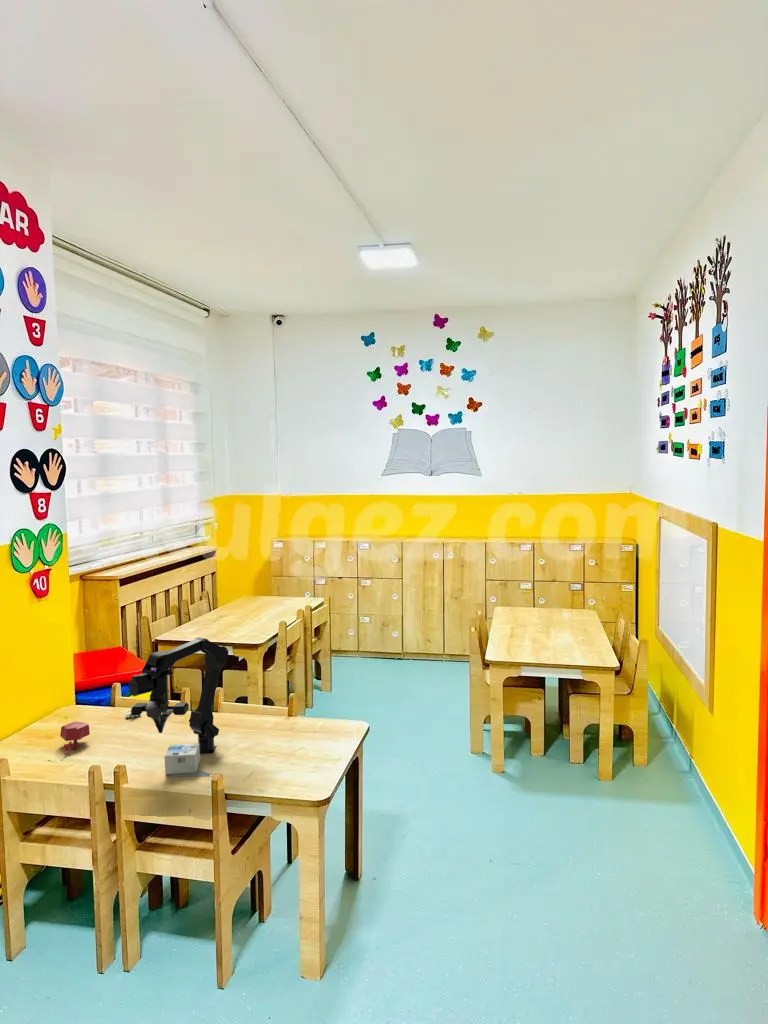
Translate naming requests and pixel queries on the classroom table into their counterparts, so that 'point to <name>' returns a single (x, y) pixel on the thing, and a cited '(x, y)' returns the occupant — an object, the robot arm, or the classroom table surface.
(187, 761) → the light bulb box
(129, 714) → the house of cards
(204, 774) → the slate mat
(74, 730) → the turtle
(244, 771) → the classroom table surface
